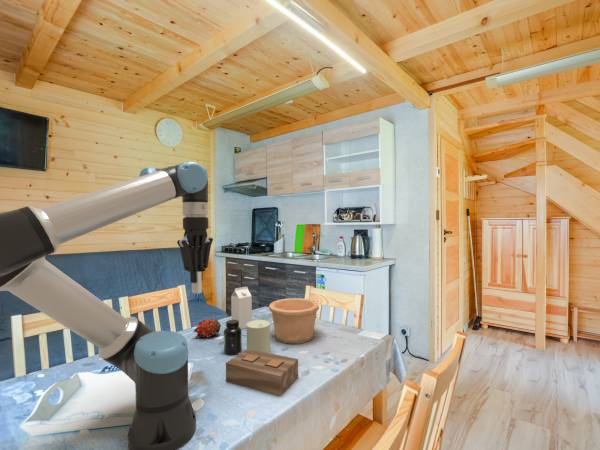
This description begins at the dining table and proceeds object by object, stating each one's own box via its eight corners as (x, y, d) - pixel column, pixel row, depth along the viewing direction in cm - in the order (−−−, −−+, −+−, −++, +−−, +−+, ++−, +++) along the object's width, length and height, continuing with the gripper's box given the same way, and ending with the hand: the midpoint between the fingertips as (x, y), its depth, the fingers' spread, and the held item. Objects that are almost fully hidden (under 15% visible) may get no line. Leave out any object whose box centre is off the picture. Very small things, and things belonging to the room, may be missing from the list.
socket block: (280, 396, 91) (280, 376, 91) (225, 381, 100) (225, 362, 100) (298, 377, 102) (298, 359, 102) (247, 365, 111) (247, 348, 111)
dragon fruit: (223, 338, 141) (196, 346, 135) (218, 322, 146) (192, 330, 141) (223, 326, 135) (195, 335, 130) (218, 311, 141) (191, 319, 136)
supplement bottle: (221, 355, 119) (221, 324, 119) (226, 348, 126) (226, 318, 126) (239, 355, 119) (239, 324, 119) (243, 348, 126) (243, 318, 125)
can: (252, 360, 114) (251, 328, 114) (242, 351, 122) (242, 321, 122) (274, 354, 119) (274, 323, 119) (264, 346, 127) (263, 317, 127)
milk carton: (231, 326, 151) (231, 287, 151) (244, 323, 156) (243, 285, 155) (239, 330, 146) (238, 289, 145) (252, 326, 151) (251, 287, 150)
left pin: (252, 378, 100) (252, 361, 100) (242, 375, 102) (242, 359, 102) (259, 372, 104) (259, 356, 104) (249, 370, 106) (249, 354, 106)
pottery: (307, 325, 152) (307, 296, 151) (327, 342, 131) (327, 308, 131) (264, 331, 144) (264, 300, 144) (277, 350, 123) (277, 314, 123)
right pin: (276, 384, 96) (276, 366, 96) (265, 381, 98) (265, 364, 98) (283, 378, 100) (282, 361, 100) (272, 375, 102) (272, 359, 102)
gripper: (188, 216, 89) (190, 298, 89) (219, 216, 100) (220, 289, 101) (169, 216, 92) (171, 296, 92) (201, 216, 104) (202, 287, 104)
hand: (196, 292), depth 97 cm, fingers closed
